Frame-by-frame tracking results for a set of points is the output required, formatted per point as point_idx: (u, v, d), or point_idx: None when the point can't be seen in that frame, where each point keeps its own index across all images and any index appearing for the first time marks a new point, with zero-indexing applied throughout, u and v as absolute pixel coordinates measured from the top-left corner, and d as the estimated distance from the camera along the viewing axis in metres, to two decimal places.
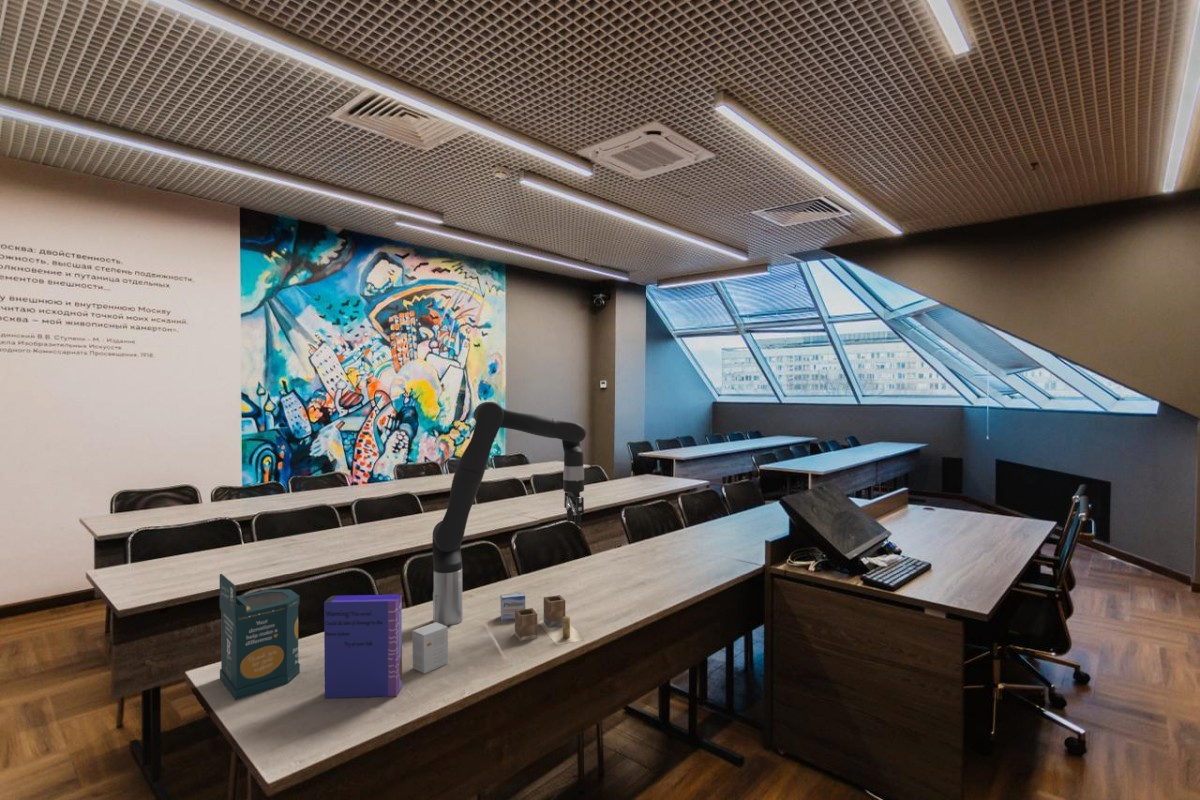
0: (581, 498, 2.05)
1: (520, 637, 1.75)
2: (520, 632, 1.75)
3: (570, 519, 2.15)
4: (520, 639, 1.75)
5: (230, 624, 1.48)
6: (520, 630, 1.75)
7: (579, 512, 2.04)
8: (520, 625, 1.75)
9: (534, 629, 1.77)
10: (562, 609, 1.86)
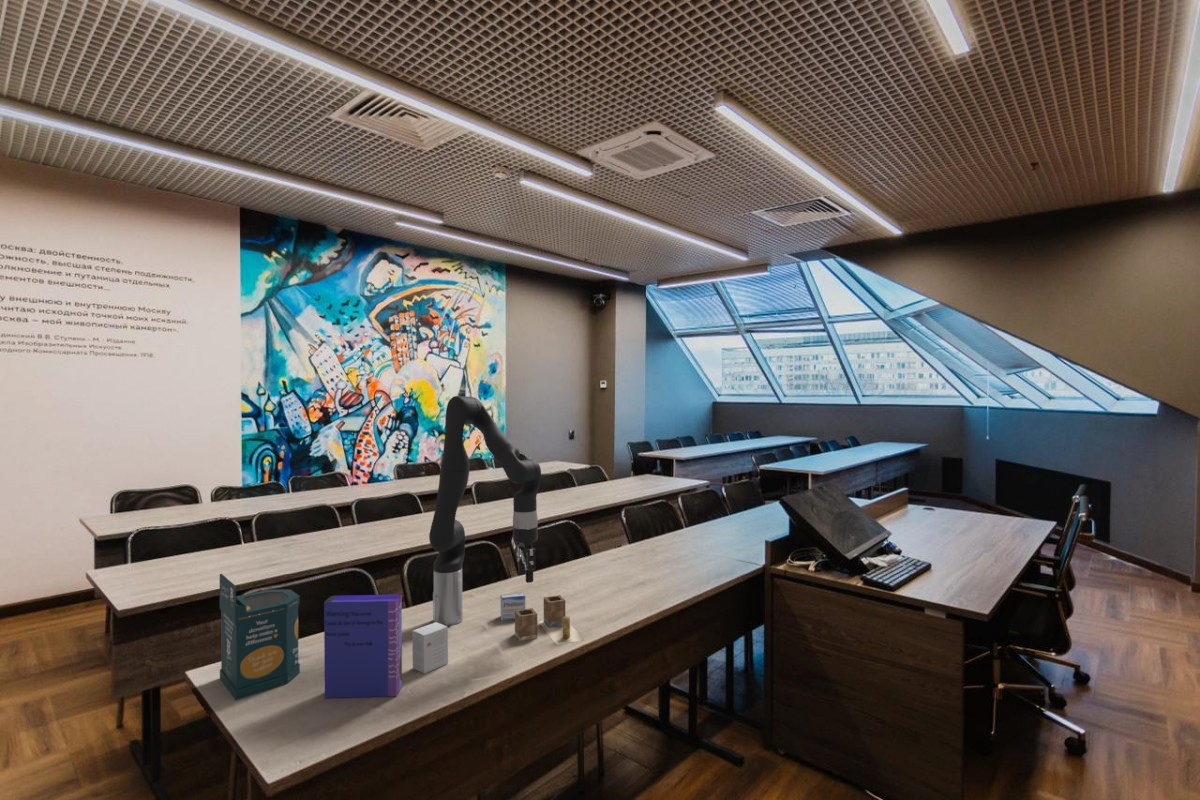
0: (532, 550, 1.73)
1: (520, 637, 1.75)
2: (520, 632, 1.75)
3: (522, 572, 1.82)
4: (520, 639, 1.75)
5: (230, 624, 1.48)
6: (520, 630, 1.75)
7: (530, 567, 1.72)
8: (520, 625, 1.75)
9: (534, 629, 1.77)
10: (562, 609, 1.86)
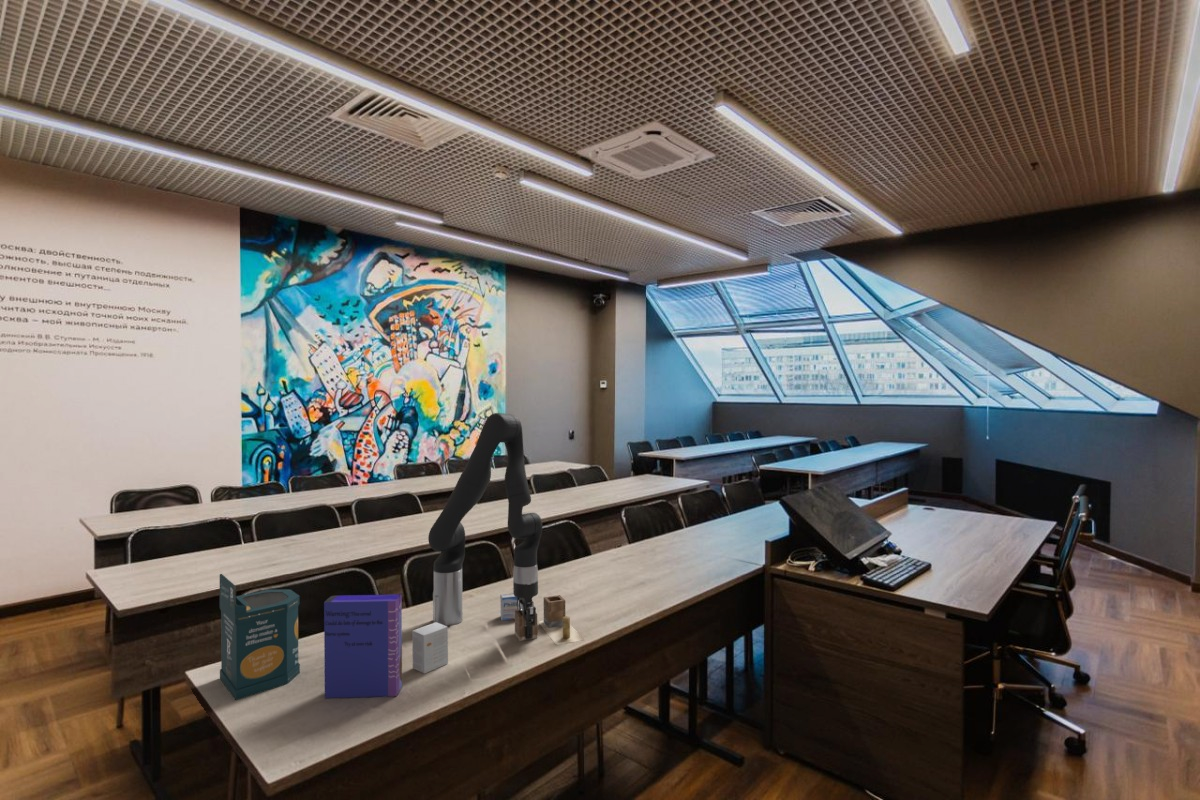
0: (533, 609, 1.73)
1: (520, 637, 1.75)
2: (520, 632, 1.75)
3: None
4: (520, 639, 1.75)
5: (230, 624, 1.48)
6: (520, 630, 1.75)
7: (529, 624, 1.73)
8: (520, 625, 1.75)
9: (534, 629, 1.77)
10: (562, 609, 1.86)
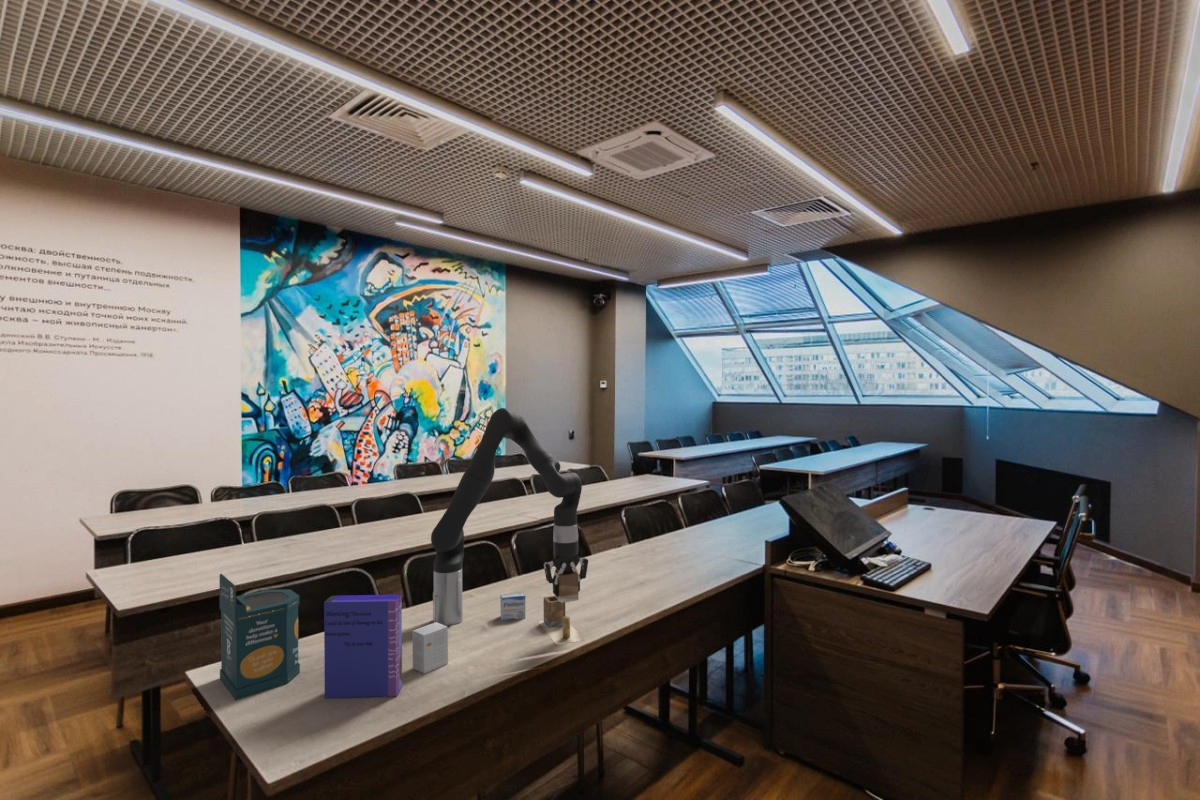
0: (545, 565, 1.74)
1: None
2: None
3: None
4: None
5: (230, 624, 1.48)
6: None
7: (547, 579, 1.76)
8: None
9: (559, 590, 1.75)
10: (562, 609, 1.86)
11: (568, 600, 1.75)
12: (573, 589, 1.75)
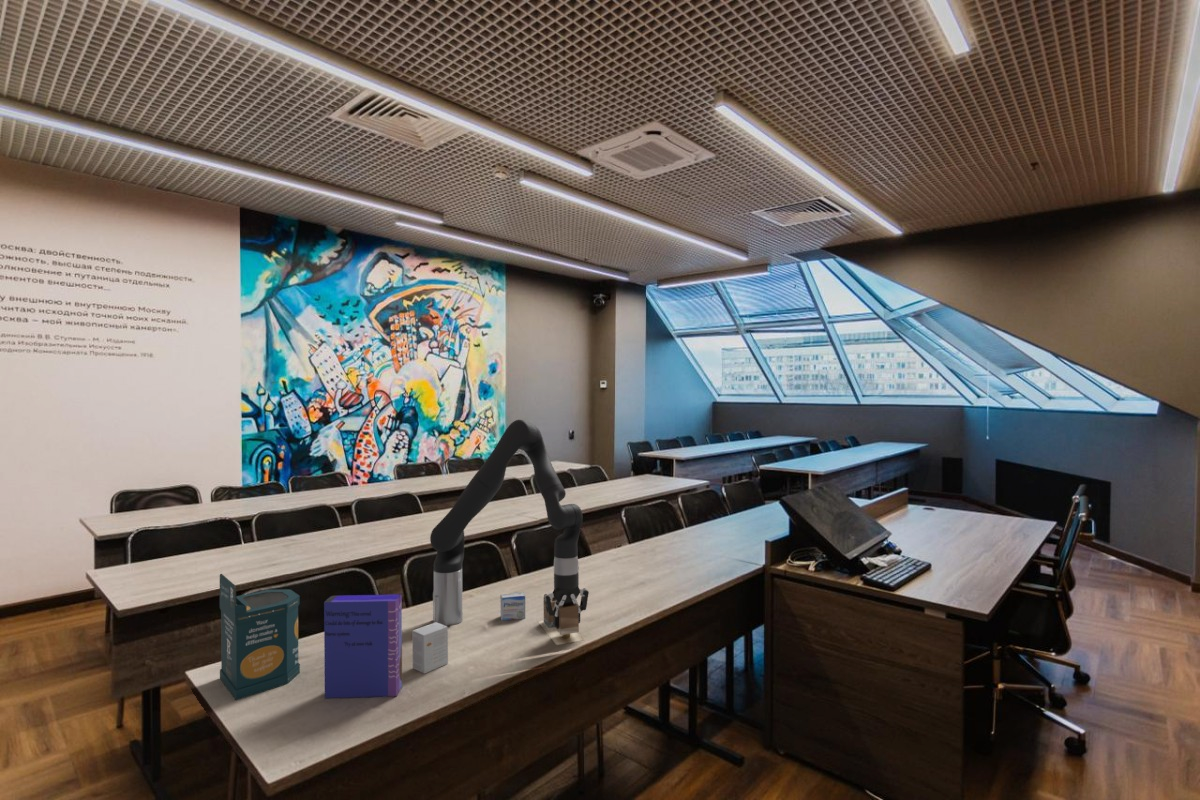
0: (545, 597, 1.74)
1: None
2: None
3: None
4: None
5: (230, 624, 1.48)
6: None
7: (547, 611, 1.75)
8: None
9: (560, 622, 1.74)
10: None
11: (568, 632, 1.75)
12: (573, 621, 1.75)
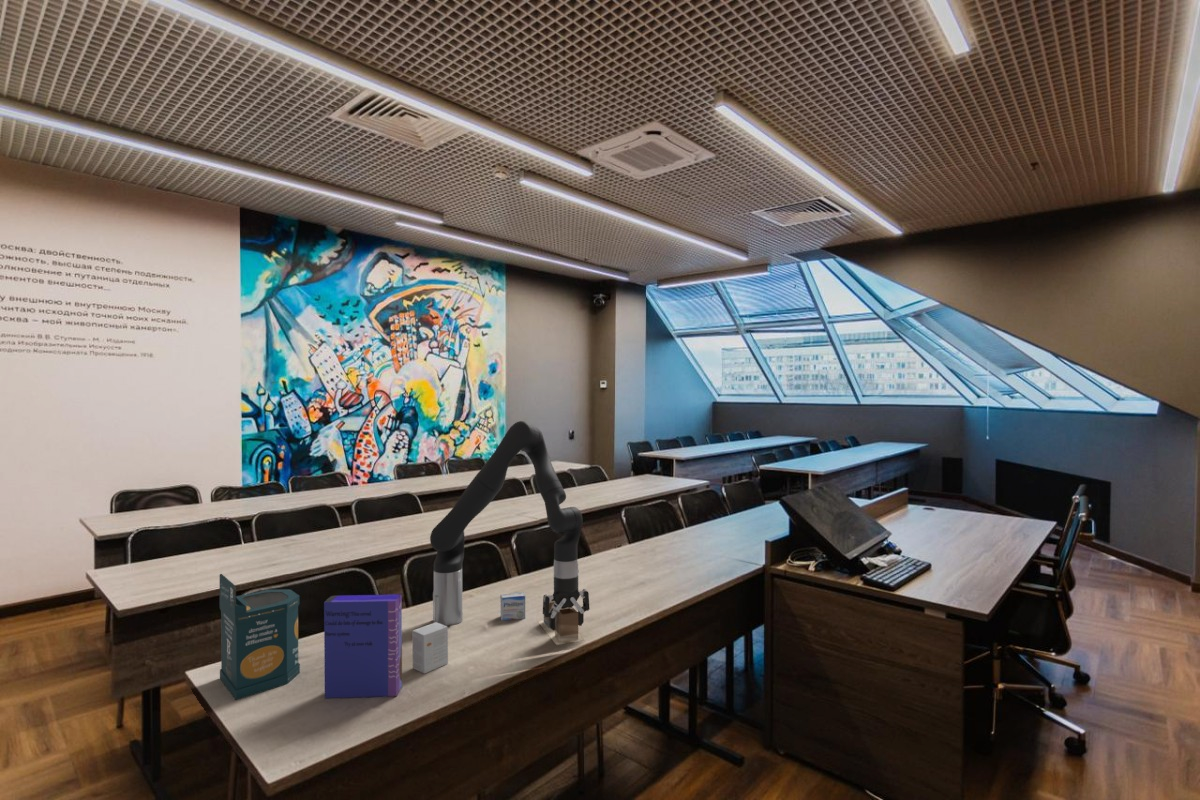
0: (545, 598, 1.74)
1: (555, 630, 1.78)
2: (555, 625, 1.78)
3: (578, 623, 1.79)
4: (555, 632, 1.78)
5: (230, 624, 1.48)
6: (555, 623, 1.78)
7: (543, 613, 1.75)
8: (555, 618, 1.78)
9: (559, 629, 1.74)
10: None
11: (568, 639, 1.74)
12: (573, 628, 1.75)
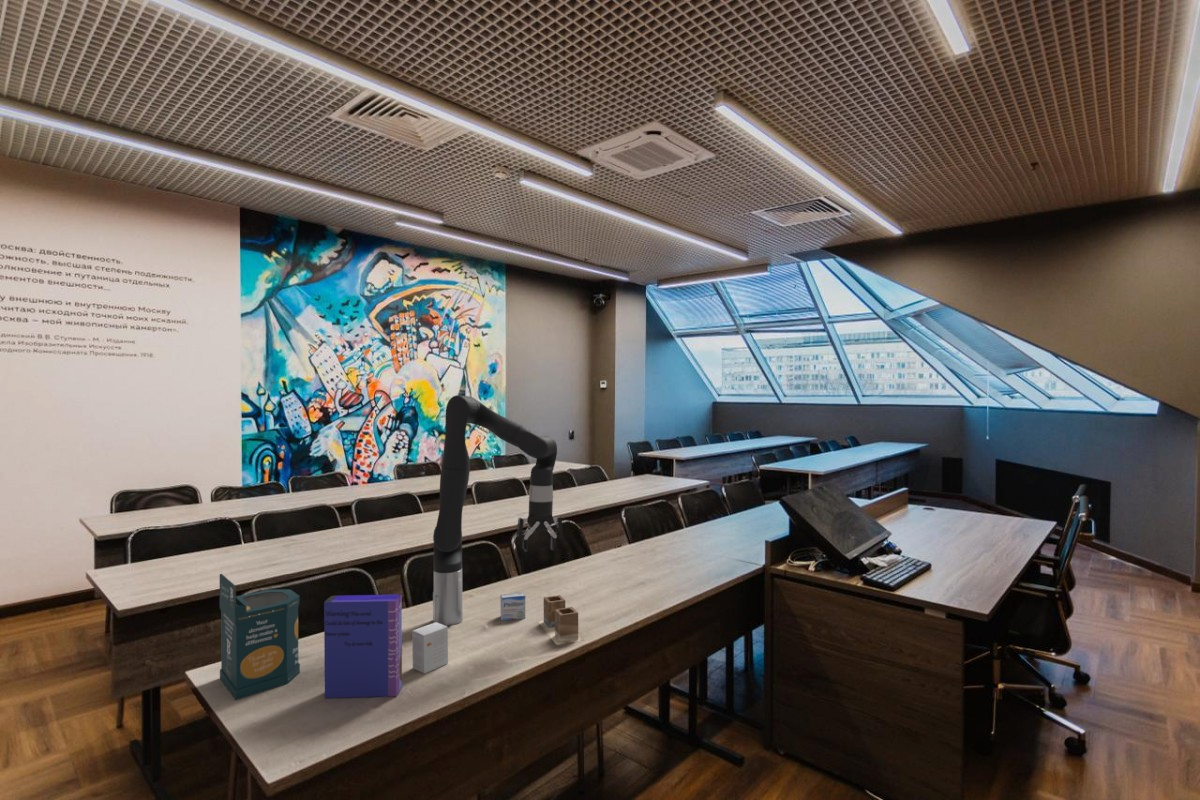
0: (519, 520, 1.82)
1: (555, 630, 1.78)
2: (555, 625, 1.78)
3: (551, 547, 1.86)
4: (555, 632, 1.78)
5: (230, 624, 1.48)
6: (555, 623, 1.78)
7: (517, 534, 1.83)
8: (555, 618, 1.78)
9: (559, 629, 1.74)
10: None
11: (568, 639, 1.74)
12: (573, 628, 1.75)
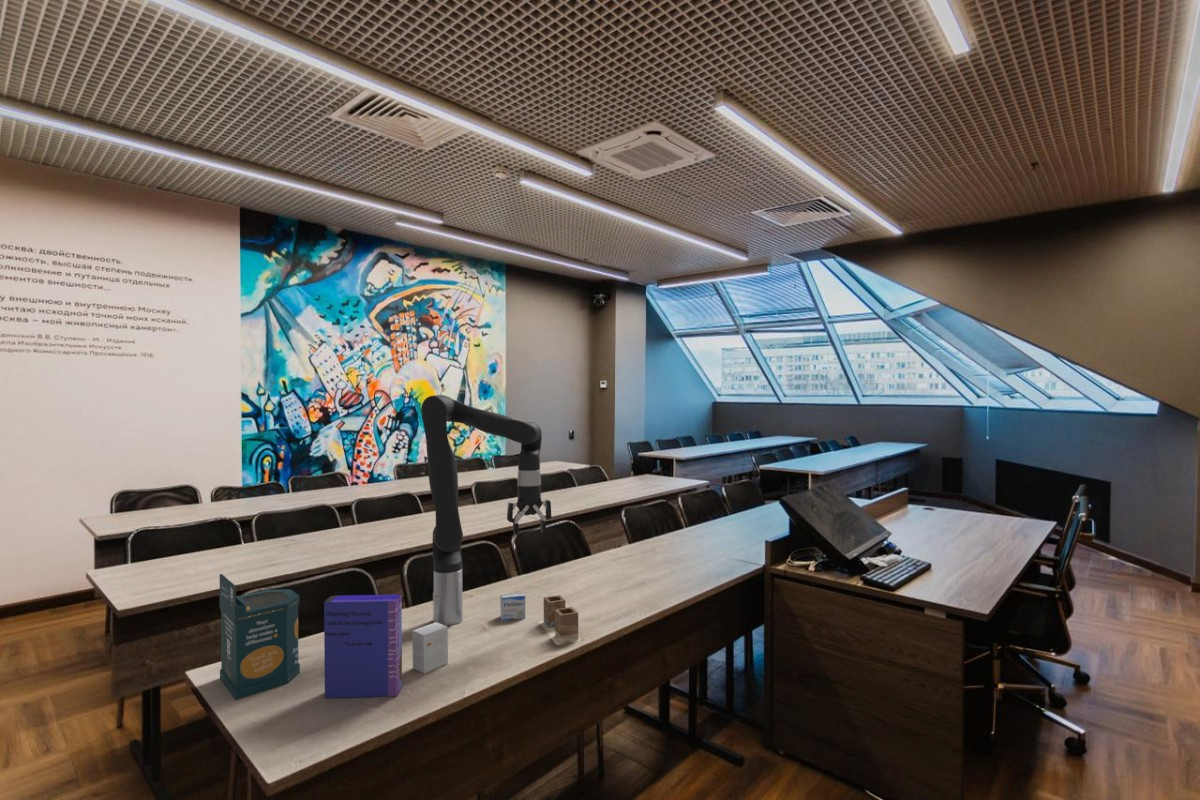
0: (509, 504, 1.87)
1: (555, 630, 1.78)
2: (555, 625, 1.78)
3: (541, 530, 1.91)
4: (555, 632, 1.78)
5: (230, 624, 1.48)
6: (555, 623, 1.78)
7: (507, 519, 1.87)
8: (555, 618, 1.78)
9: (559, 629, 1.74)
10: None
11: (568, 639, 1.74)
12: (573, 628, 1.75)
